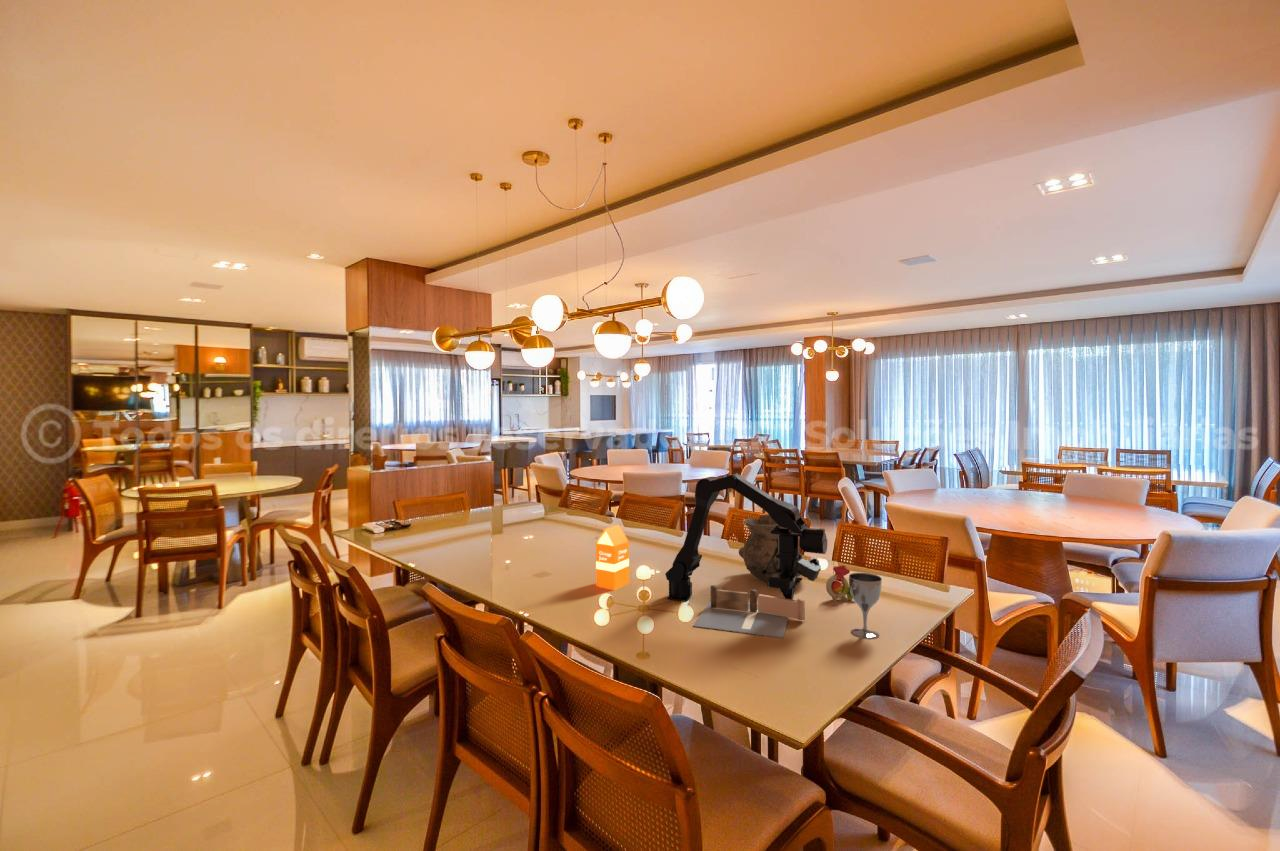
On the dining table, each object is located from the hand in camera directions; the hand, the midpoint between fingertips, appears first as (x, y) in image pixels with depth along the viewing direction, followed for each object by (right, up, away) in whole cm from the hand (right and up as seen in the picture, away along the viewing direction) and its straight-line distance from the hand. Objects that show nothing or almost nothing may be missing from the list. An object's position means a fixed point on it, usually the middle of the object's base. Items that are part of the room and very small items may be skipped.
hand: (789, 604), depth 159 cm
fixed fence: (-15, -4, +6) cm, 16 cm away
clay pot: (+4, -3, +35) cm, 35 cm away
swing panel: (-3, -3, -1) cm, 4 cm away
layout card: (-13, -4, 0) cm, 14 cm away
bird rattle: (+20, -3, +14) cm, 25 cm away
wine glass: (+17, -4, -12) cm, 21 cm away
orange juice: (-52, -3, +31) cm, 60 cm away
